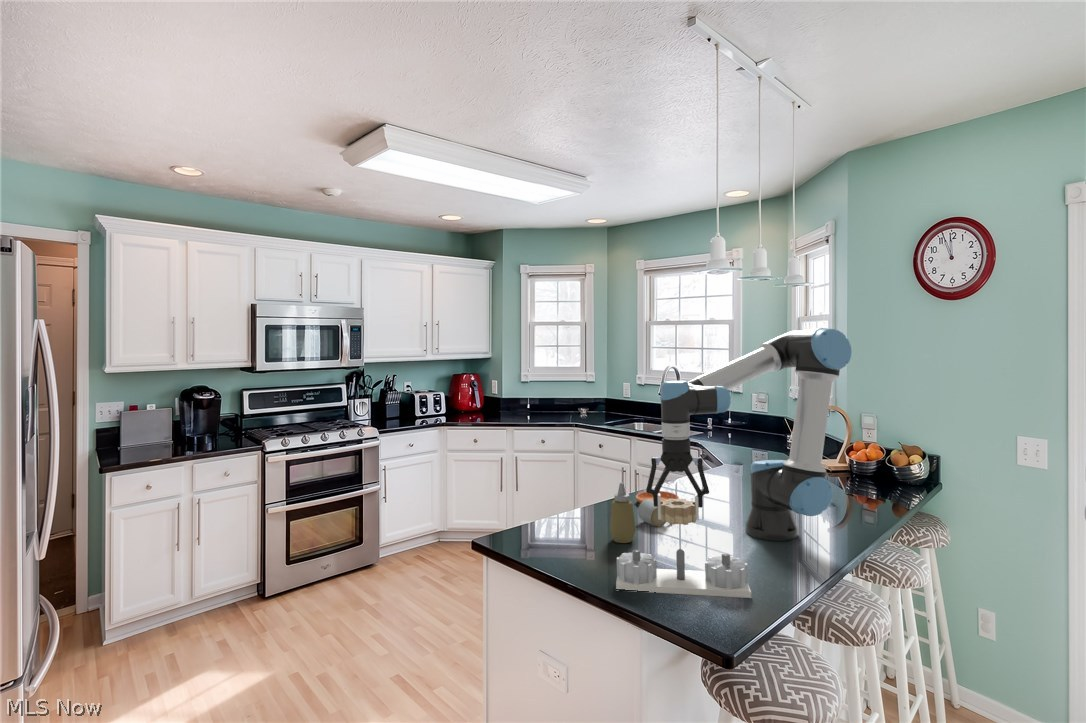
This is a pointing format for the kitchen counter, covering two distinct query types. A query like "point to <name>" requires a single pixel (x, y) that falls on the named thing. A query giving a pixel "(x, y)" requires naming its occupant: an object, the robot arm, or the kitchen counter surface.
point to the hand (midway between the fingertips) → (678, 518)
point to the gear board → (685, 585)
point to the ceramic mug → (649, 513)
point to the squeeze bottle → (622, 517)
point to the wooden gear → (678, 511)
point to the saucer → (645, 495)
